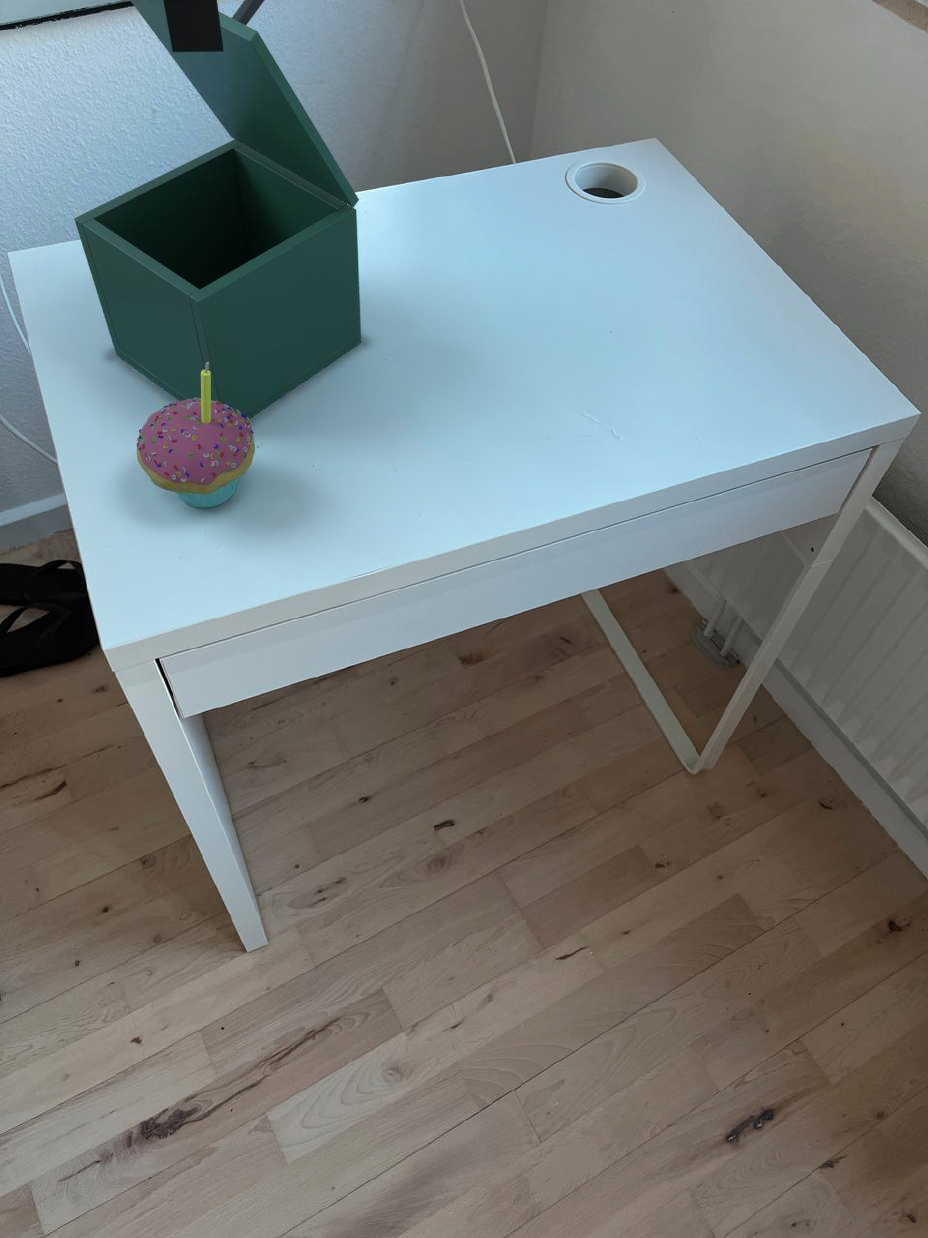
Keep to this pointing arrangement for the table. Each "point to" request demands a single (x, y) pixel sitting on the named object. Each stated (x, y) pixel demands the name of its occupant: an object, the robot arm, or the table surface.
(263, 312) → the cool box
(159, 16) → the cool box lid
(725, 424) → the table surface
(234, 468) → the cupcake
